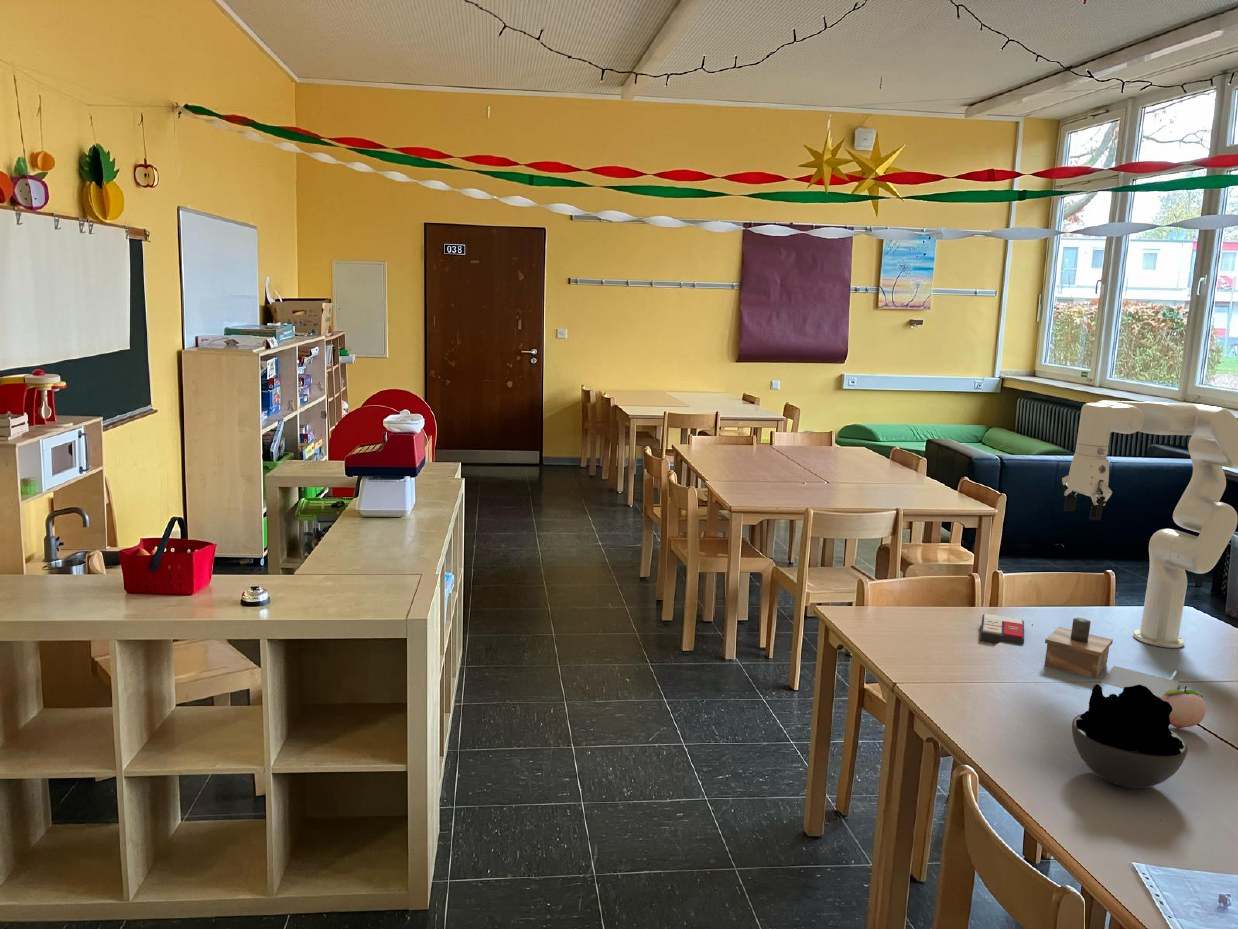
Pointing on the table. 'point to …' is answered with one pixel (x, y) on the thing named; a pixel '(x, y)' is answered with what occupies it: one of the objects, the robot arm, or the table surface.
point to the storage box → (1075, 661)
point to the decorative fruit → (1185, 707)
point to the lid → (1079, 638)
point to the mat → (1139, 680)
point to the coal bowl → (1129, 738)
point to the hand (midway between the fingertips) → (1081, 515)
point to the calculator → (1001, 629)
